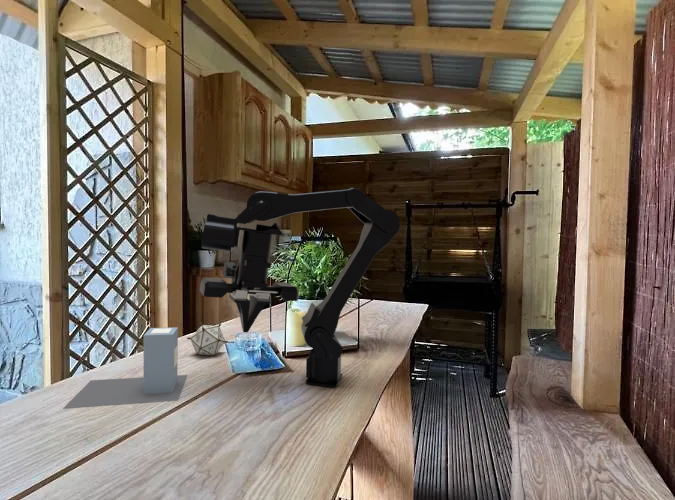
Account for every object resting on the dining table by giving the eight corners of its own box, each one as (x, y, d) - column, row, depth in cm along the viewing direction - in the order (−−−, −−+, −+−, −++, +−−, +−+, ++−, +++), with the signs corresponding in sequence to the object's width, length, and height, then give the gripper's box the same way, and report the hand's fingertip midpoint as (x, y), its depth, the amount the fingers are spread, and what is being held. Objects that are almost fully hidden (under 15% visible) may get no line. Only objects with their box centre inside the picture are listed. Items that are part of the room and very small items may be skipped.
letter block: (177, 381, 76) (178, 326, 76) (173, 392, 72) (173, 333, 71) (150, 383, 75) (150, 327, 75) (143, 394, 70) (143, 334, 70)
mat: (187, 377, 80) (187, 374, 80) (178, 403, 69) (178, 400, 68) (90, 383, 76) (90, 380, 76) (62, 411, 64) (62, 408, 64)
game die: (215, 369, 95) (240, 335, 97) (200, 368, 87) (228, 331, 89) (189, 347, 98) (214, 315, 100) (172, 345, 89) (200, 309, 91)
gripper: (285, 255, 88) (276, 322, 89) (200, 246, 79) (190, 320, 80) (304, 261, 78) (293, 336, 79) (209, 251, 70) (199, 336, 70)
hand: (245, 331), depth 77 cm, fingers closed
